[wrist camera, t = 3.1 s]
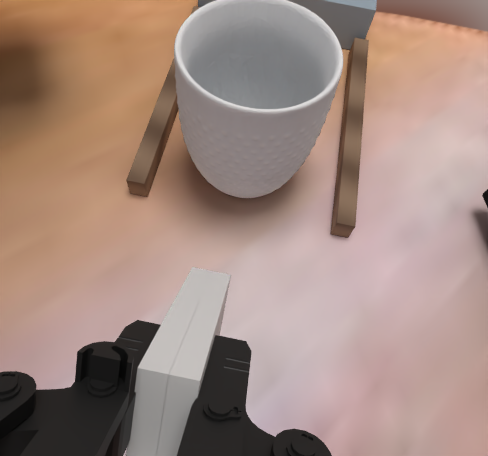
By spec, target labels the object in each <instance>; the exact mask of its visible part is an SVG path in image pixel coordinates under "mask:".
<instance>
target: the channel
mask: <svg viewBox="0 0 488 456" xmlns="http://www.w3.org/2000/svg"><path fill="white" fill-rule="evenodd" d="M199 8H200V7H195V6H194V8H193V11H192V13H191V14H193V13H194V12H195V11H196V10H197V9H199ZM368 41H369V40H365V39H360V38H354V41H353V44H352V46H351V49H350V52H349V59H348V69H347V78H346V88H345V98H344V108H343V118H342V127H341V137H340V147H339V157H338V167H337V176H336V186H335V196H334V206H333V215H332V225H331V234H333V235H338V236H343V237H349V235H350V234H351V232H352V231H353V229H354V228H355V223H356V209H357V195H358V181H359V167H360V153H361V139H362V125H363V111H364V97H365V83H366V69H367V55H368ZM178 109H179V108H178V104H177V93H176V79H175V61H174V59H173V62H172V65H171V67H170V70H169V72H168V75H167V77H166V80H165V82H164V85H163V88H162V90H161V93H160V95H159V98H158V100H157V103H156V106H155V108H154V111H153V113H152V116H151V118H150V121H149V124H148V126H147V129H146V131H145V134H144V136H143V139H142V142H141V144H140V147H139V149H138V152H137V154H136V157H135V160H134V162H133V165H132V167H131V170H130V172H129V175H128V178H127V184H128V187H129V190H130V193H132V194H136V195H141V196H146V197H148V194H149V191H150V188H151V185H152V182H153V180H154V177H155V174H156V171H157V168H158V165H159V163H160V160H161V157H162V154H163V151H164V148H165V146H166V143H167V140H168V137H169V134H170V131H171V128H172V126H173V123H174V120H175V117H176V114H177V111H178Z"/></svg>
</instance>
